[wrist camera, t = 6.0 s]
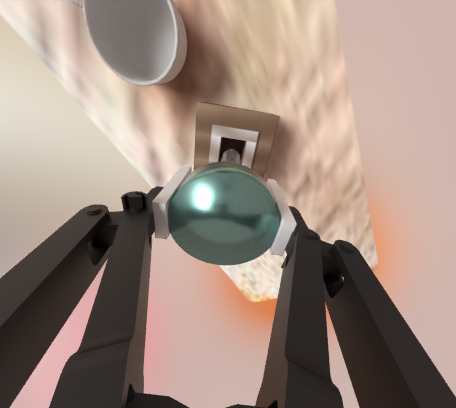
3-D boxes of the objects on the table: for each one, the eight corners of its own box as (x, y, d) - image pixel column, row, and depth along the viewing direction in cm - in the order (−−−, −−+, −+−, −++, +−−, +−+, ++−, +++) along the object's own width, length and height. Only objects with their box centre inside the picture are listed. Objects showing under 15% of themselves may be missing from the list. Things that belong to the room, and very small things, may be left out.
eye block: (204, 102, 30) (196, 102, 24) (272, 113, 30) (280, 116, 25) (199, 168, 36) (192, 180, 31) (256, 177, 36) (259, 191, 31)
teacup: (206, 36, 26) (195, 13, 19) (172, 103, 30) (153, 104, 23) (114, -53, 22) (58, -124, 15) (91, 39, 27) (40, 18, 20)
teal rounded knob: (204, 177, 26) (168, 257, 13) (208, 126, 22) (164, 165, 9) (250, 184, 26) (263, 271, 13) (262, 135, 22) (296, 186, 9)
